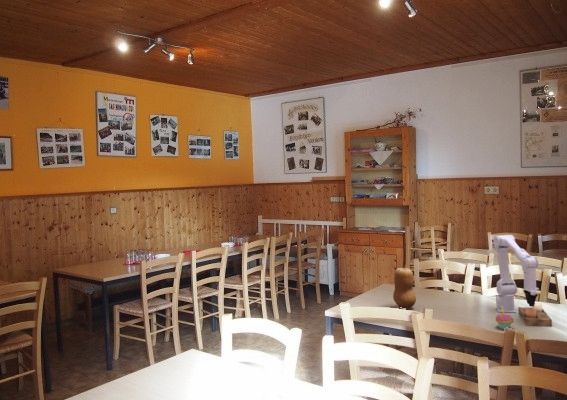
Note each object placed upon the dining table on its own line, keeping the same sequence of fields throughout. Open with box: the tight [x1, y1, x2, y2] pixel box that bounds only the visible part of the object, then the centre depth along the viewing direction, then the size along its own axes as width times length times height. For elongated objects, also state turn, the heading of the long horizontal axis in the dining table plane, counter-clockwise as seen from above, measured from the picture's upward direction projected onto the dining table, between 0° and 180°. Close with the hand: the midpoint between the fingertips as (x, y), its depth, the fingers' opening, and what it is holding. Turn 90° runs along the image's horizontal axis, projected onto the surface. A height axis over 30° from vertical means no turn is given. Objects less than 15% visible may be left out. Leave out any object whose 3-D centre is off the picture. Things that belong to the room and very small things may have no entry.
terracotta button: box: [526, 307, 536, 318], centre depth 251 cm, size 5×5×5 cm
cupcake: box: [495, 306, 514, 330], centre depth 244 cm, size 9×8×12 cm
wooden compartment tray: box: [517, 306, 553, 328], centre depth 255 cm, size 12×22×4 cm, turn 163°
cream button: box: [531, 302, 543, 312], centre depth 259 cm, size 5×5×5 cm
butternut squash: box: [392, 267, 417, 309], centre depth 288 cm, size 14×13×25 cm
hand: (530, 305), depth 250 cm, fingers open, 4 cm apart
